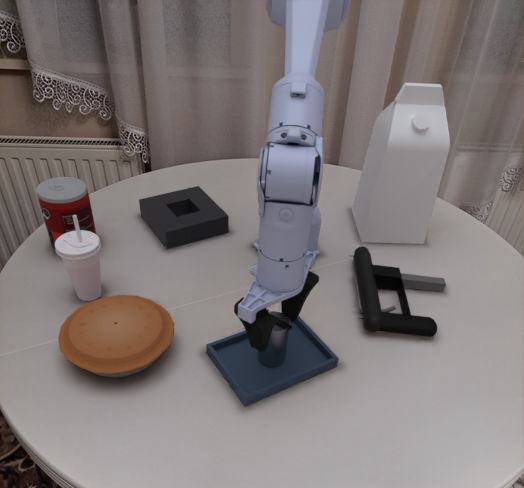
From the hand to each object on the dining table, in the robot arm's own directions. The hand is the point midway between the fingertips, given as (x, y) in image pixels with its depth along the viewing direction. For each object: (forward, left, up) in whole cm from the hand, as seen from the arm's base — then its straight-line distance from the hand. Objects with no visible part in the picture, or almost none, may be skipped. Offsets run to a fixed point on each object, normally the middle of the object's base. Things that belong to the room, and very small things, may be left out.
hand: (274, 332), depth 69 cm
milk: (-39, -20, -6) cm, 44 cm away
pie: (+18, -12, -6) cm, 22 cm away
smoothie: (+18, -26, -6) cm, 32 cm away
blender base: (-4, -38, -5) cm, 39 cm away
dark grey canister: (0, 0, -5) cm, 5 cm away
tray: (0, 0, -5) cm, 5 cm away
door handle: (-26, -2, -6) cm, 27 cm away
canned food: (+16, -40, -6) cm, 43 cm away
